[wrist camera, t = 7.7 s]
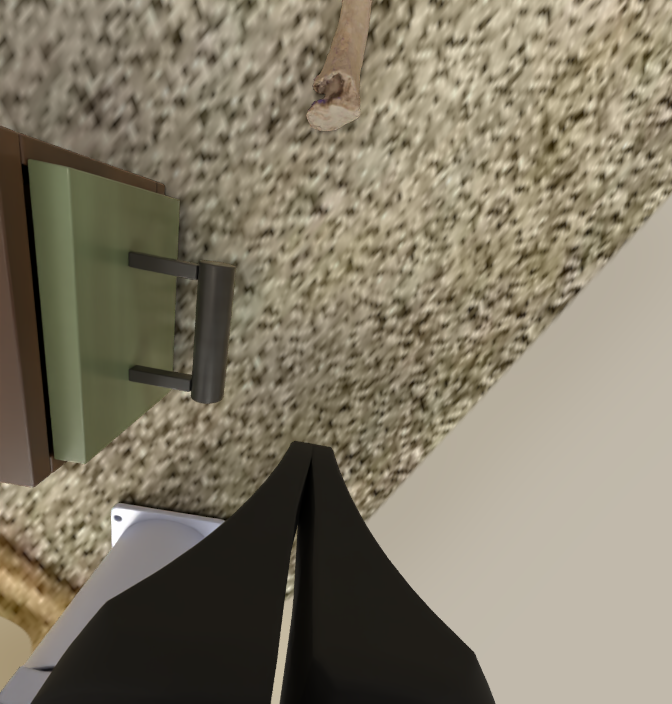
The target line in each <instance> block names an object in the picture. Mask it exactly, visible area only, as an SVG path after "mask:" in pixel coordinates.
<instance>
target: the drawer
mask: <svg viewBox="0 0 672 704" xmlns="http://www.w3.org/2000/svg"><path fill="white" fill-rule="evenodd" d="M27 162H28V173H29V184H28V183H23V186H24V196H25V207H26V217H27V227H28V238H29V248H30V259H31V269H32V279H33V290H34V300H35V311H36V321H37V331H38V342H39V352H40V363H41V373H42V383H43V394H44V404H45V415H46V420H47V419H48V418H50V417H51V427H52V438H53V449H54V458H55V459H57V460H63V461H69V462H75V463H81V464H86V463H87V462H88V461H90V460H91V459H92V458H93V457H94V456H95V455H97V454H98V453H99V452H100V451H101V450H102V449H104V448H105V447H106V446H107V445H108V444H109V443H111V442H112V441H113V440H114V439H115V438H116V437H118V436H119V435H120V434H121V433H122V432H123V431H125V430H126V429H127V428H128V427H129V426H130V425H132V424H133V423H134V422H135V421H136V420H137V419H139V418H140V417H141V416H142V415H143V414H145V413H146V412H147V411H148V410H149V409H150V408H152V407H153V406H154V405H155V404H156V403H157V402H159V401H160V400H161V399H162V398H163V397H164V396H166V395H167V394H168V393H169V392H170V391H171V390H172V389H176V390H181V391H187V392H190V391H191V398H192V399H193V400H194V401H196V402H199V403H215V402H218V401H220V400H222V399H223V397H224V387H225V377H226V367H227V356H228V346H229V336H230V326H231V316H232V305H233V295H234V285H235V275H236V266H234V265H231V264H227V263H222V262H216V261H208V260H201V261H199V264H196V263H191V262H186V261H181V260H177V256H178V232H179V208H180V200H179V199H175V198H172V197H169V196H165V195H162V194H158V193H155V192H152V191H148V190H145V189H142V188H138V187H135V186H131V185H128V184H125V183H121V182H118V181H114V180H111V179H108V178H104V177H101V176H97V175H94V174H91V173H87V172H84V171H80V170H77V169H74V168H70V167H66V166H62V165H57V164H52V163H47V162H43V161H38V160H33V159H28V160H27ZM177 277H182V278H187V279H192V280H198V288H197V304H196V320H195V336H194V352H193V368H192V375H189V374H184V373H178V372H173V352H174V328H175V304H176V280H177Z"/></svg>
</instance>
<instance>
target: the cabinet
mask: <svg viewBox="0 0 672 704" xmlns="http://www.w3.org/2000/svg"><path fill="white" fill-rule="evenodd" d="M28 159H33V160H38V161H43V162H47V163H52V164H57V165H62V166H66V167H70V168H74V169H77V170H80V171H84V172H87V173H91V174H94V175H97V176H101V177H104V178H108V179H111V180H114V181H118V182H121V183H125V184H128V185H131V186H135V187H138V188H142V189H145V190H148V191H152V192H155V193H158V194H162V195H164V192H165V186H164V184H162V183H159V182H156V181H153V180H151V179H148V178H145V177H142V176H139V175H137V174H134V173H131V172H128V171H125V170H123V169H120V168H117V167H114V166H111V165H109V164H106V163H103V162H100V161H97V160H95V159H92V158H89V157H86V156H83V155H80V154H78V153H75V152H72V151H69V150H66V149H64V148H61V147H58V146H55V145H52V144H50V143H47V142H44V141H41V140H38V139H36V138H33V137H30V136H27V135H24V134H22V133H18V132H15V131H13V130H10V129H8V128H5V127H2V126H0V482H2V483H8V484H14V485H20V486H26V487H35V486H37V485H38V484H39V483H40V482H42V481H43V480H44V479H45V478H47V477H48V476H49V475H50V474H51V473H53V472H55V471H56V470H57V469H58V468H60V467H61V466H62V465H63V464H65V463H66V462H67V461H63V460H57V459H55V458H54V449H53V438H52V427H51V417H50V418H48V419H47V420H46V415H45V404H44V394H43V383H42V373H41V363H40V352H39V342H38V331H37V321H36V311H35V300H34V290H33V279H32V269H31V259H30V248H29V238H28V227H27V217H26V207H25V196H24V186H23V183H28V184H29V173H28V162H27V160H28Z"/></svg>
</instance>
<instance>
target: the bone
mask: <svg viewBox="0 0 672 704" xmlns="http://www.w3.org/2000/svg"><path fill="white" fill-rule="evenodd" d="M372 1H373V0H342V8H341V13H340V20H339V22H338V28H337V30H336V33H335V35H334V38H333V41H332V44H331V49H330V52H329V54H327V60H326V62H325V64H324V68H323V69H322V71H321V73H320V74H319V75H317V76H316V78H315V79H314V84H313V85H312V86H313V90H315V91H316V92H318V93H320V94H325V97H324V99H321V100H318V101H315V102H314V103H313V104H312V106H311V107H310V109H308V112H307V114H306V116H307V119H308V121H309V123H310V127H311V128H314V129H316V130H319V131H331V130H336V129H338V128H340V127H342V126H343V125H345V124H347V123H350V122H352V121H354V120H355V119H357V118H358V117H359V116H360V94H359V88H360V72H361V67H362V65H363V58H364V51H365V46H366V40H367V36H368V31H369V21H370V13H371V6H372Z"/></svg>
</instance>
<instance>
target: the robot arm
mask: <svg viewBox="0 0 672 704" xmlns="http://www.w3.org/2000/svg"><path fill="white" fill-rule="evenodd" d="M297 525H298V531H297V547H296V565H295V582H294V599H293V609H292V619H291V626H290V633H289V641H288V648H287V655H286V663H285V669H284V676H283V684H282V691H281V698H280V704H495V701H494V698H493V696H492V693H491V691H490V688H489V685H488V683H487V681H486V679H485V676H484V674H483V672H482V669H481V667H480V665H479V663H478V660H477V658H476V655H475V654H474V652H473V651H472V650H471V649H470V648H469V647H468V646H467V645H466V644H465V643H464V642H463V641H462V640H461V639H460V638H459V637H458V636H457V635H456V634H455V633H454V632H453V631H452V630H451V629H450V628H449V627H448V626H447V625H446V624H445V623H444V622H443V621H442V620H441V619H440V618H439V617H438V616H437V615H436V614H435V613H434V612H433V611H432V610H431V609H430V608H429V607H428V606H427V605H426V603H425V602H424V601H423V600H422V599H421V598H420V597H419V596H418V595H417V593H416V592H415V591H414V590H413V589H412V588H411V587H410V585H409V584H408V583H407V582H406V580H405V579H404V578H403V576H402V575H401V574H400V573H399V571H398V570H397V569H396V568H395V566H394V565H393V564H392V563H391V561H390V560H389V559H388V558H387V556H386V554H385V553H384V552H383V550H382V549H381V547H380V546H379V544H378V543H377V541H376V540H375V538H374V537H373V535H372V534H371V532H370V530H369V529H368V527H367V526H366V524H365V522H364V520H363V519H362V517H361V515H360V513H359V511H358V509H357V508H356V506H355V504H354V502H353V500H352V498H351V496H350V493H349V491H348V489H347V487H346V485H345V482H344V480H343V478H342V475H341V473H340V470H339V467H338V465H337V462H336V459H335V455H334V452H333V450H332V448H331V447H327V446H321V445H315V444H310V443H304V442H298V441H294V442H292V443H291V444H290V447H289V449H288V451H287V452H286V454H285V456H284V457H283V459H282V460H281V461H280V463H279V464H278V466H277V467H276V468H275V469H274V471H273V472H272V473H271V475H270V476H269V477H268V478H267V480H266V481H265V482H264V483H263V484H262V485H261V486H260V487H259V489H258V490H257V491H256V492H255V493H254V494H253V495H252V496H251V497H250V498H249V499H248V500H247V501H246V502H245V503H244V504H243V505H242V506H241V507H240V508H239V509H238V510H237V511H236V512H235V513H234V514H233V515H232V516H231V517H229V518H228V519H227V520H226V521H225V520H222V519H216V518H210V517H204V516H198V515H191V514H185V513H179V512H173V511H167V510H160V509H154V508H148V507H142V506H136V505H130V504H123V503H117V504H115V505H114V507H113V508H112V509H111V531H112V548H111V550H110V551H109V552H108V554H107V555H106V556H105V558H104V559H103V560H102V562H101V563H100V564H99V566H98V567H97V568H96V570H95V571H94V572H93V574H92V575H91V576H90V578H89V579H88V580H87V582H86V583H85V584H84V586H83V587H82V588H81V589H80V591H79V592H78V593H77V595H76V596H75V597H74V599H73V600H72V601H71V603H70V604H69V605H68V607H67V608H66V609H65V611H64V612H63V613H62V615H61V616H60V617H59V619H58V620H57V621H56V623H55V624H54V625H53V627H52V628H51V629H50V630H49V632H48V633H47V634H46V636H45V637H44V638H43V640H42V641H41V642H40V644H39V645H38V646H37V648H36V649H35V650H34V652H33V653H32V654H31V656H30V657H29V658H28V660H27V661H26V662H25V664H24V665H23V666H21V667H19V668H18V670H17V671H16V672H15V674H14V675H13V676H12V678H11V679H10V680H9V681H8V683H7V684H6V685H5V687H4V688H3V690H2V691H1V692H0V704H271V697H272V691H273V683H274V677H275V670H276V664H277V656H278V647H279V639H280V631H281V624H282V615H283V608H284V600H285V592H286V585H287V577H288V570H289V562H290V555H291V549H292V545H293V541H294V537H295V533H296V529H297Z"/></svg>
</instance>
